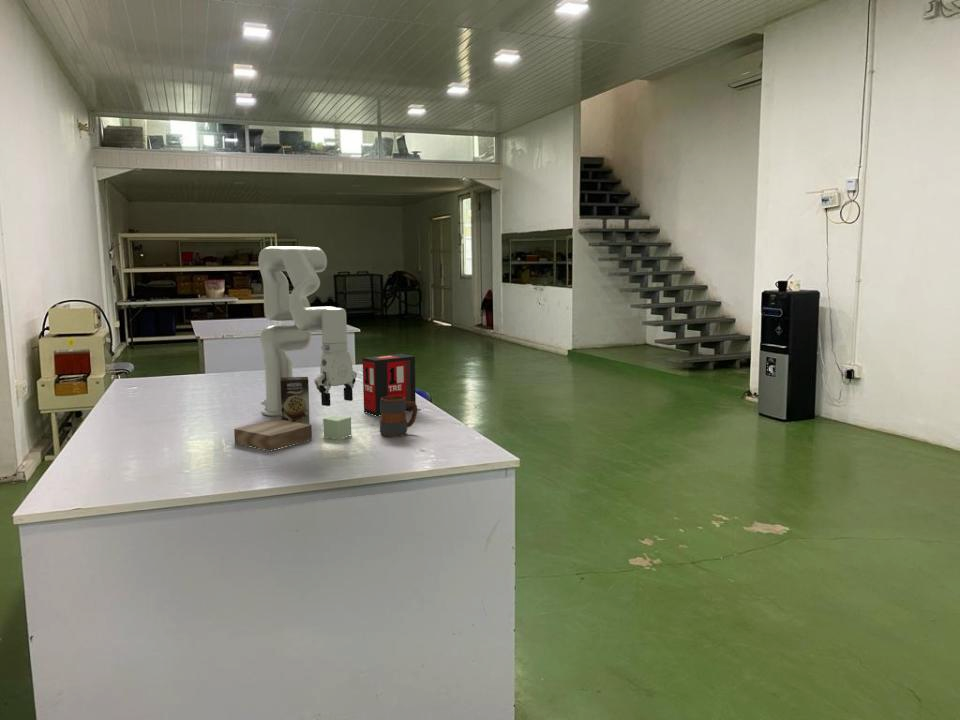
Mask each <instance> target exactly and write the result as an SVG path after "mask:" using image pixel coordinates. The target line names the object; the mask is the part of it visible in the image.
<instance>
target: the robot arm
mask: <svg viewBox="0 0 960 720" xmlns="http://www.w3.org/2000/svg"><path fill="white" fill-rule="evenodd" d="M327 265H328V259H327V255H326V253H325V251H323V250H322V248H321V247H317V246H285V245H284V246H283V245H282V246H277V245H276V246H267V247H265V248H263V249H261V251H260V252H259V255H258V268H259V272H260V274H261V278H262V282H263V284H262V285H263V308H264V309H263V311H264V316H265V318H266V320H268V321H270V322H276V323H277V322H294V324H277V325H275V324H273V325H270V326H269V325H268V326H267V327H264V328H263V329H262V331H261V332H260V336H259V337H260V343H261V348H262V353H263V360H264V362H263V364H264V378H265V381H264V382H265V397H266V398H265V399H263V400H262V401H261V402H260V404H261V405H262V406H264V408H263V409H262V411H261V412H262V413H261V414H263V415H265V416H271V417H279V416H281V384H280V378H286V377H294V374H293V371H294V370H293V363H292V360H291V359H290V358H289V356H287V354H286V352H294V351H303V350H306V349H307V348H309V347H310V344H311V337H312V336H311V332H317V331H321V339H322V346H321V347H320V348H321V351H322V353H321V357H320V367H319V369H320V374H319V375H318V376H317V377H316V378H315V379H314V380H313V383H314V384H315V386H316V389H317V390H318V393H320V396H321V397H320V399H321V400H320V401H321V402H320V403H321V406H324V407H330V406H331V393H330V390H331V388H332V387H338V386H344V387H343V400H344V401H349V402H352V401H353V399H354V398H353V389H354V387H355V386H354V385H355V383H356V379H357V376H358V373H357V372H356V371H354V370H353V369H354V368H353V362H352V357H351V353H350V351H348V327H347V326H348V325H347V312H346V309H345V308H342V307H336V306H331V305H329V306H327V305H325V306H311V305H310V302H309V300H308V298H307V297H308V296H310V295H312V294H314V293H315V292H316V291H317V290H318V289H319V288H320V286H321V280H320V278H319V276H318V274H317V273H322V272H324V271H325V270H326V269H327ZM284 272H286V273H287V275H288V278H289V279H290V282H291V284H292V287H293V289H292V291H291V293H290V290H289V289H290V287H289V280H288V278H287V277H286V275H285V274H284Z"/></svg>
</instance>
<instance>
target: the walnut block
mask: <svg viewBox="0 0 960 720" xmlns="http://www.w3.org/2000/svg"><path fill="white" fill-rule="evenodd" d="M233 430H234V436H233V437H234V444H235V443H237V444H236V445H238V444H242V445H241V446H243V445H247V446H246V447H248V446H252V447H256V448H255V449H257V448H260V449H259V450H262V449H265V450H264V451H266V450H270V451H269V452H272V451H271V450H274V449H278V448H281V447H285V446H288V447H290V446H289V445H292V446H294V445H293V444H295V445H297V444H296V443H298V444H301V443H300V442H302V443H305V442H308V441H307V440H309V441H312V440H313V434H312V433H313V431H312V430H313V428H312V424H310V425H308V424H303V423H297V422H292V421H286V420H282V419H279V418H273V419H268V420H265V421H262V422H257V423H253V424H248V425H244V426H239V427H235V428H234V429H233ZM311 439H312V440H311ZM304 441H305V442H304ZM252 447H251V448H252ZM285 448H286V447H285ZM281 449H282V448H281ZM278 450H279V449H278ZM274 451H275V450H274Z"/></svg>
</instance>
